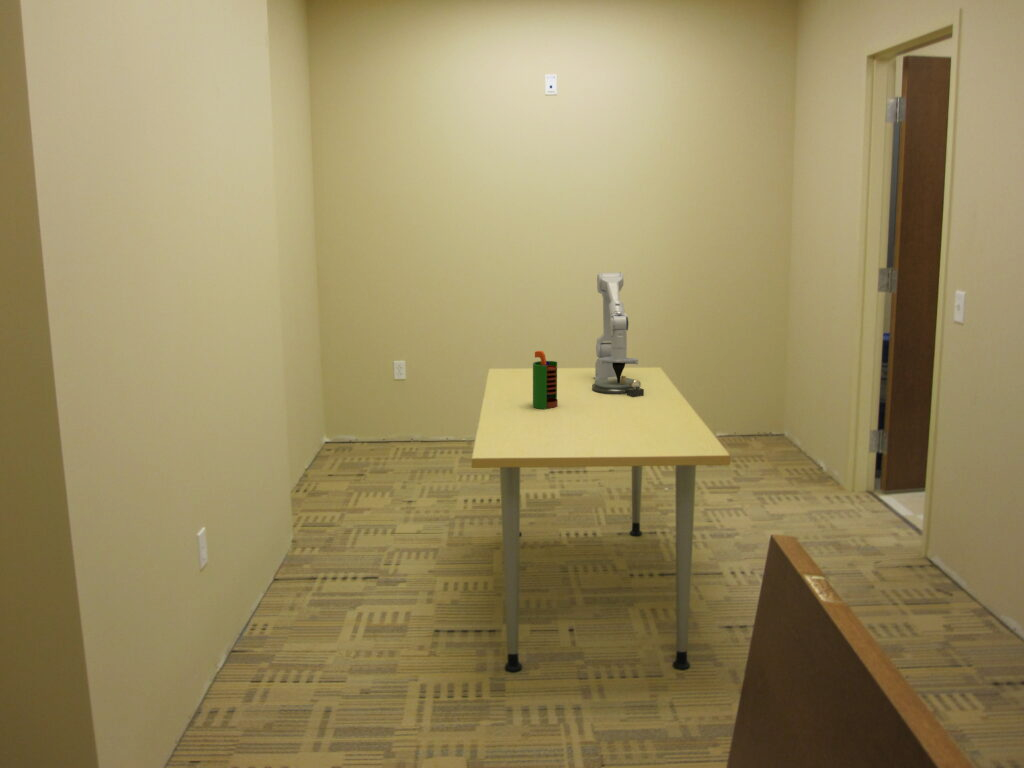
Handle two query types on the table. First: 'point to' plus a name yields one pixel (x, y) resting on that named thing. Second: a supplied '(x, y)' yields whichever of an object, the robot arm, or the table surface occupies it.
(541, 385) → the motor
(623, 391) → the plinth
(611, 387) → the disc
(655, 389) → the table surface
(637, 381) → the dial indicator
